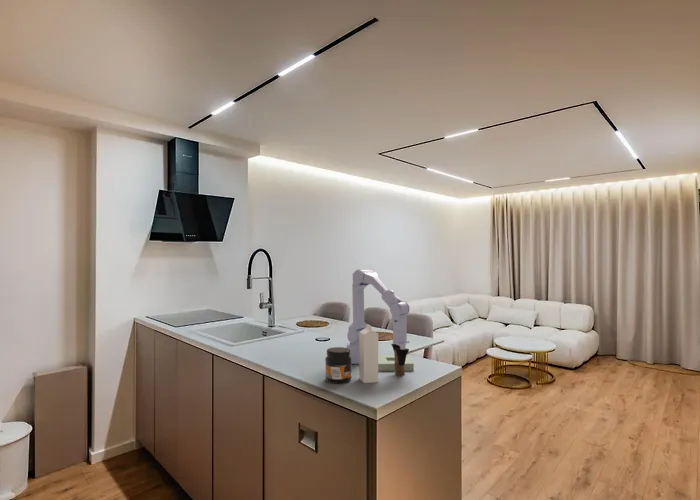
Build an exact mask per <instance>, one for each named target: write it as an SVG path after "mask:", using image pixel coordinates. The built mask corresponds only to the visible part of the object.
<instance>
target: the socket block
mask: <svg viewBox="0 0 700 500" xmlns="http://www.w3.org/2000/svg"><path fill="white" fill-rule="evenodd" d="M390 371H392V372H395V357H394V354H378V372H390ZM404 371H405V372H409V371H410V372H412V371H414V362H413V361H412V360H411V359H410V357H409V356H408V355H407V356H406V360H405V365H404Z"/></svg>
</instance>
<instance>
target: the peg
mask: <svg viewBox="0 0 700 500" xmlns="http://www.w3.org/2000/svg"><path fill="white" fill-rule="evenodd" d="M393 353H394V354H393V355H394V357H395V371H394V375H396V376H399V377H401V376H404V375H405V374H406V373H405V372H406V371H404V366H399V363H398V356H397V353H396V350H393Z"/></svg>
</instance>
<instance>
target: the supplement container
mask: <svg viewBox="0 0 700 500" xmlns="http://www.w3.org/2000/svg"><path fill="white" fill-rule="evenodd" d="M324 359H325V360H324V361H325V376H324V377H325V380H326V381H327V380H328V381H330V382H329V383H331V382H337V383H336V384H344V383H343V382H346V383H348V382H350V381H351V379H352V364H351V361H352V358H351V357H350V349H348V348H347V347H343V346H342V347H340V346H337V347H335V346H334V347H329V348H327V349H326V357H325V358H324ZM328 381H327V382H328Z"/></svg>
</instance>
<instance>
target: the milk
mask: <svg viewBox="0 0 700 500" xmlns="http://www.w3.org/2000/svg"><path fill="white" fill-rule="evenodd" d="M378 355H379V333H378V332H376V331H374V330H373V329H372V325H371V324H368V323H366V328H365V329H363V330H362V331H360V336H359V364H358V365H359V367H358V369H359V370H358V371H359V374H358V375H359V377H358V378H359V380H360V381H361V382H362V383H363V384H368V383H369V384H371V383H379V371H378Z"/></svg>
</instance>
